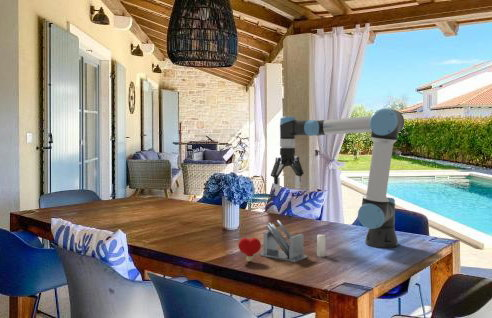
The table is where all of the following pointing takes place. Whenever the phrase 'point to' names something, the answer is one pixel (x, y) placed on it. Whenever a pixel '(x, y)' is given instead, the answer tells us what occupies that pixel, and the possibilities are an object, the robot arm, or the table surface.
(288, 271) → the table surface
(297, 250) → the chute
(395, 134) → the robot arm
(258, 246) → the red heart on stand
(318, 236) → the peg
